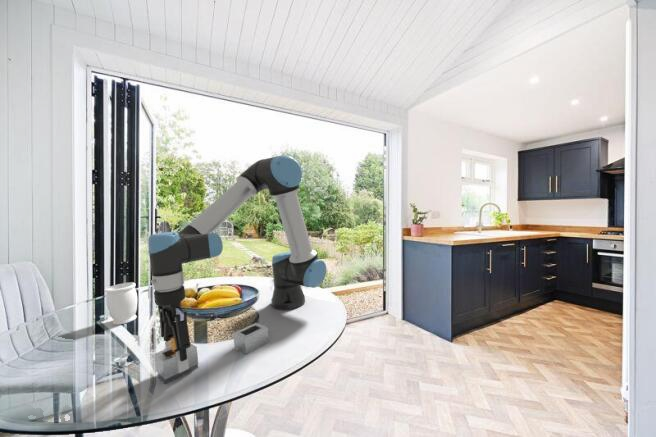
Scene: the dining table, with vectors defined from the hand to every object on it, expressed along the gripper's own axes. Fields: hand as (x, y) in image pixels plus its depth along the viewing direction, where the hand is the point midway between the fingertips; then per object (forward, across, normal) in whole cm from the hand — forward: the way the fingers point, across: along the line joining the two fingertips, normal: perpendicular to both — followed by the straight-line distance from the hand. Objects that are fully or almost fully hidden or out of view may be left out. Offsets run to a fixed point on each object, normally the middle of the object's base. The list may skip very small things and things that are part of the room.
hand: (178, 365), depth 82 cm
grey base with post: (+2, 0, 0) cm, 2 cm away
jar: (+2, -58, +2) cm, 58 cm away
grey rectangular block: (0, 0, 0) cm, 0 cm away
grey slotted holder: (+2, +5, +21) cm, 22 cm away
